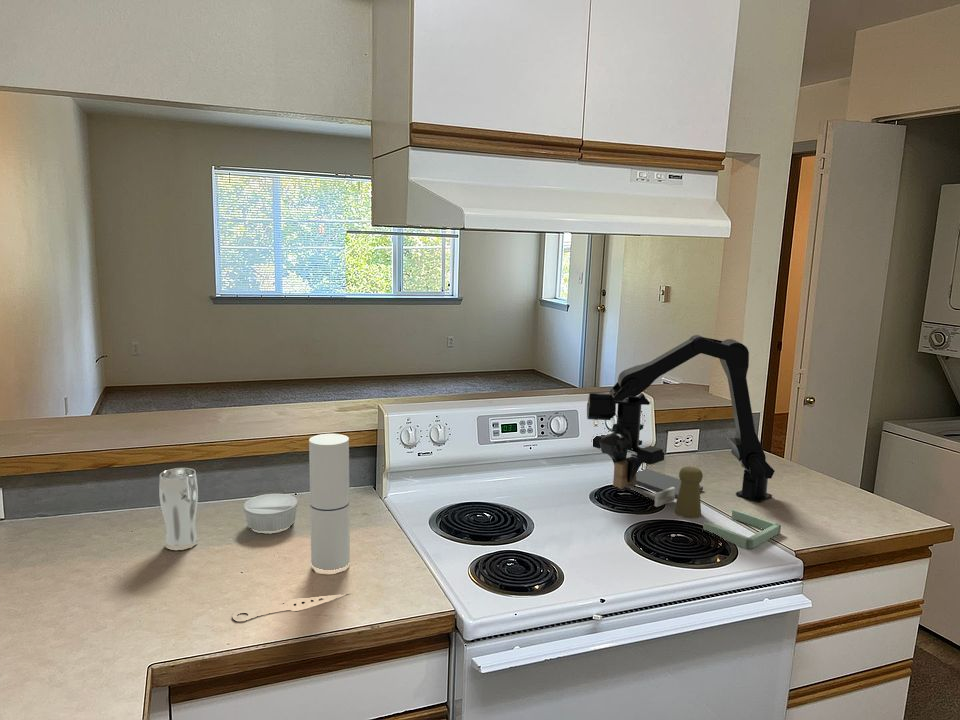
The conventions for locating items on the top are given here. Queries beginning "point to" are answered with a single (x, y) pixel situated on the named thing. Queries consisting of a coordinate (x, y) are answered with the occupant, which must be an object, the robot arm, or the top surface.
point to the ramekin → (270, 512)
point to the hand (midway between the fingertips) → (624, 480)
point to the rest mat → (658, 481)
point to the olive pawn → (689, 493)
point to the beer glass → (179, 505)
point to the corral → (744, 541)
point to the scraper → (622, 481)
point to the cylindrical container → (329, 501)
